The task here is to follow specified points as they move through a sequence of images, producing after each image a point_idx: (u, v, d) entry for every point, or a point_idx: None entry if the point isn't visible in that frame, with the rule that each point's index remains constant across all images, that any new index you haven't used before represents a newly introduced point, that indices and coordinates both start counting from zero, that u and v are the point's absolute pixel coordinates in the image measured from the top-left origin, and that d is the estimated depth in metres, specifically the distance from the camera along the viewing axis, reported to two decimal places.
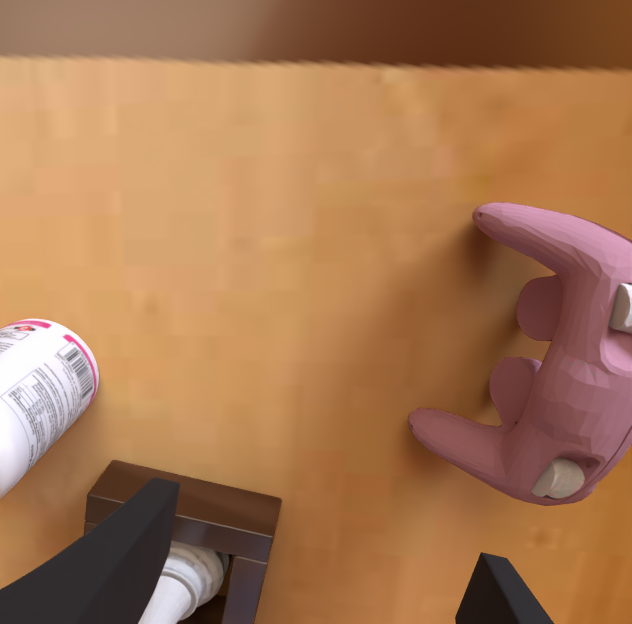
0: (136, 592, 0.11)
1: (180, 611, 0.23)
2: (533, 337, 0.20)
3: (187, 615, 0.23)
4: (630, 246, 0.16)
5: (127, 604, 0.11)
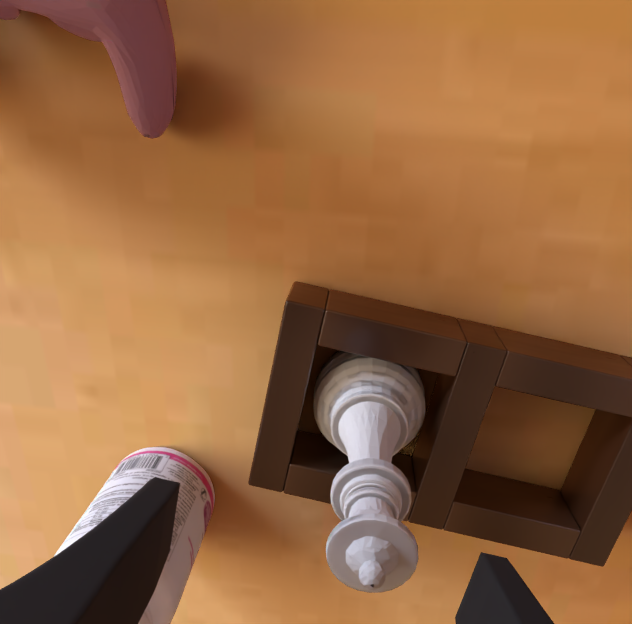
0: (136, 592, 0.11)
1: (368, 417, 0.19)
2: None
3: (397, 408, 0.19)
4: None
5: (127, 604, 0.11)
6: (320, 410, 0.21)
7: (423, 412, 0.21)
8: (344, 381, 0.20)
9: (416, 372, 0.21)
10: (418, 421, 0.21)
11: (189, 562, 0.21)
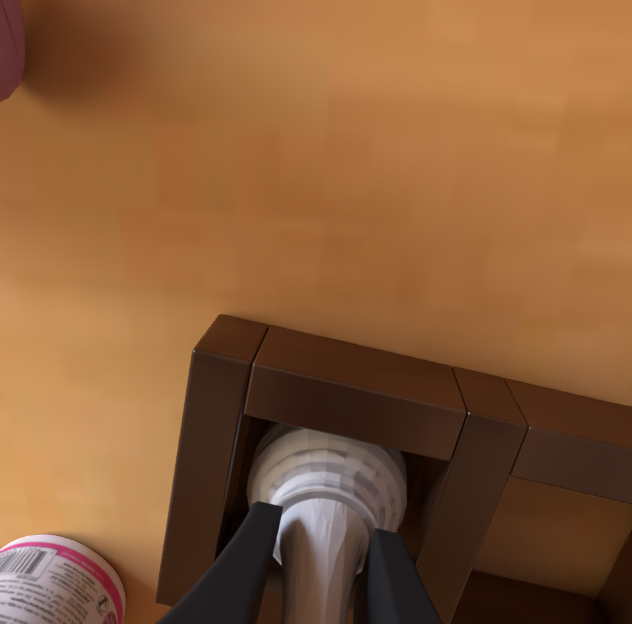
0: (253, 619, 0.11)
1: (317, 527, 0.12)
2: None
3: (362, 508, 0.13)
4: None
5: None
6: (255, 501, 0.14)
7: (404, 504, 0.14)
8: (287, 462, 0.14)
9: None
10: (396, 518, 0.14)
11: None
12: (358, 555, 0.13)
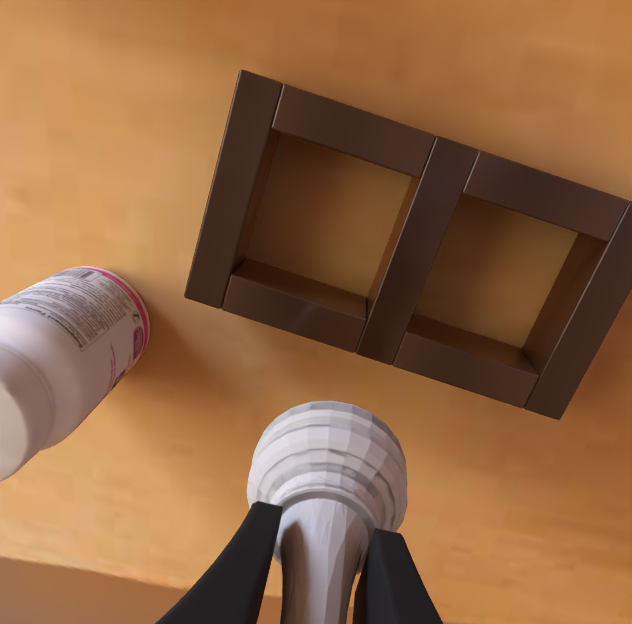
0: (253, 619, 0.11)
1: (317, 526, 0.12)
2: None
3: (362, 508, 0.13)
4: None
5: None
6: (255, 501, 0.14)
7: (404, 504, 0.14)
8: (287, 462, 0.14)
9: (395, 443, 0.15)
10: (396, 518, 0.14)
11: (108, 370, 0.19)
12: (358, 555, 0.13)
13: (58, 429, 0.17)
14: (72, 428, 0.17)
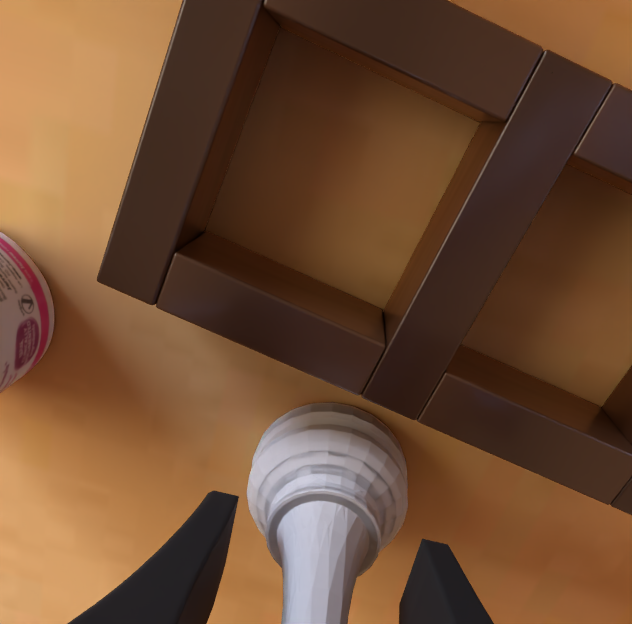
0: (203, 608, 0.11)
1: (318, 529, 0.12)
2: None
3: (362, 511, 0.13)
4: None
5: (196, 620, 0.11)
6: (255, 503, 0.14)
7: (405, 506, 0.14)
8: (287, 465, 0.14)
9: (395, 445, 0.15)
10: (397, 520, 0.14)
11: None
12: (359, 558, 0.13)
13: None
14: None
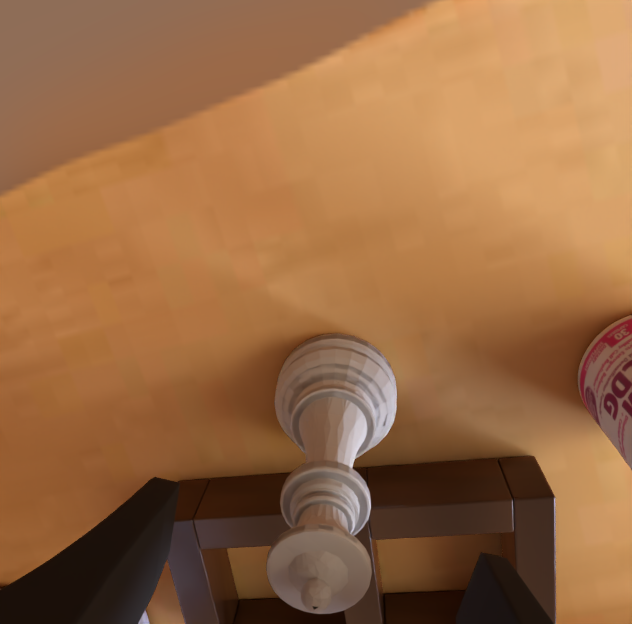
0: (136, 592, 0.11)
1: None
2: None
3: None
4: None
5: (127, 604, 0.11)
6: (382, 389, 0.19)
7: (285, 432, 0.20)
8: (378, 432, 0.19)
9: None
10: (285, 428, 0.19)
11: (627, 457, 0.16)
12: None
13: None
14: None
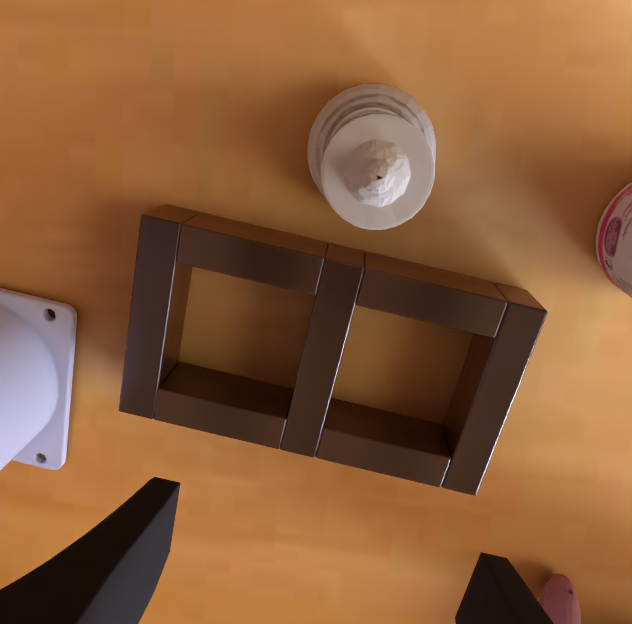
0: (136, 592, 0.11)
1: None
2: None
3: None
4: None
5: (127, 604, 0.11)
6: None
7: (310, 165, 0.19)
8: None
9: None
10: (314, 157, 0.18)
11: None
12: None
13: None
14: None
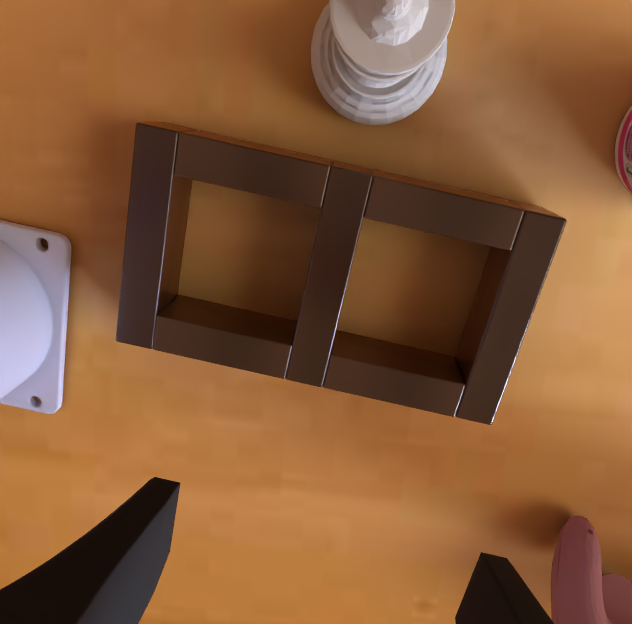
0: (136, 592, 0.11)
1: None
2: None
3: (353, 86, 0.16)
4: None
5: (127, 604, 0.11)
6: None
7: (314, 68, 0.18)
8: (416, 91, 0.17)
9: (330, 105, 0.19)
10: (318, 57, 0.17)
11: None
12: None
13: None
14: None
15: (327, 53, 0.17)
